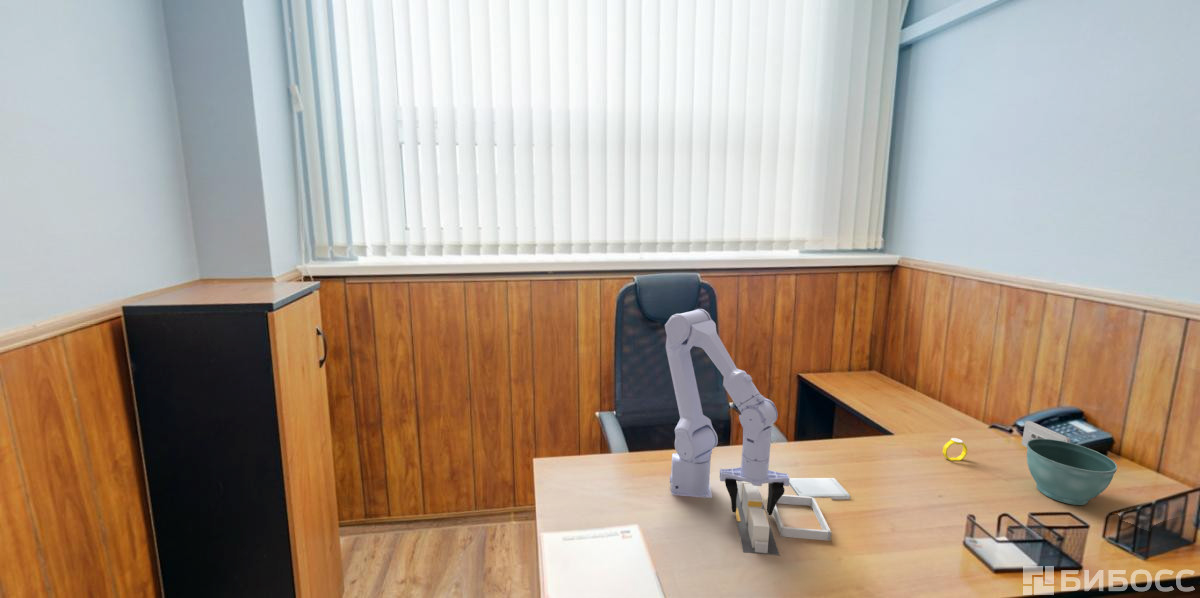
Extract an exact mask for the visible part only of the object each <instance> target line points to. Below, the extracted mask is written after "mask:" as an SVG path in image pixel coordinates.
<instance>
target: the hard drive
mask: <svg viewBox="0 0 1200 598" xmlns="http://www.w3.org/2000/svg"><path fill="white" fill-rule="evenodd" d="M789 478H790V479H789V486H790V488H791V489H792V490H793V491H794V493H795V494H796V496H809V497H814V498H830V499H831V500H850V499H851V495H850V494H849V492H848V491H847V490H846V489H845V488H844V487H843V486H842V485H841V484H840V483H839V481H838V480H837V479H836V478H835V477H800V478H799V477H796V478H795V477H794V478H793V477H789Z"/></svg>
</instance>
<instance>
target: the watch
mask: <svg viewBox="0 0 1200 598" xmlns="http://www.w3.org/2000/svg"><path fill="white" fill-rule="evenodd" d="M954 444H955V445H960V446H962V451H961V454H960V455H958V456H957V457H948V453H947V452H948V450H949V448H950V447H951V446H952V445H954ZM967 454H968V446H967V445H966V444H965V443H964V442H963V440H962V439H960V438H956V437H952V438H950V440H948V441H947V442H946V443H945V444H944V445H943V447H942V455H943V456H944V458H945V459H947V460H948V461H949V462H951V461H952V462H953V461H955V462H961V461H963V459H965V458H966V456H967Z"/></svg>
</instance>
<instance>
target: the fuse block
mask: <svg viewBox="0 0 1200 598" xmlns="http://www.w3.org/2000/svg"><path fill="white" fill-rule="evenodd" d="M737 486H738V484H737ZM742 503H743V502H741V501H740V497H739V493H738V492H737V499H736V513H734V517H735V520H736V525H737V529H738V534H739V537H740V538H739V539H740V543H741V547H742V552H743V553H748V554H757V555H759V554H760V555H768V556H769V555H770V556H781V555H780V552H779V548H778V546H777V542H776V540H775V537H774V533H773V531H772V528H771V525H770V521H769V519H768V514H767V511H766V509H765V506H764V502H763V501H762V509H764V511H765V514H766V517H767V520H768V524H769V527H770V528H769V540H768V542H758V541H755V548H752V544H751V540H750V536H749V532H748V524H747V523H746V520H745V516H744V513H743V509H742Z"/></svg>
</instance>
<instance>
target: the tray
mask: <svg viewBox="0 0 1200 598" xmlns="http://www.w3.org/2000/svg"><path fill="white" fill-rule="evenodd" d="M777 504H783V505H784V504H785V505H797V506H809V507H811V509H812V510H813V513H814V515H815V517H816V519H817V522H818V523H819V525H820V528H821V529H818V528H804V527H803V528H802V527H793V526H792V527H791V526H784V523H783V521H782V518H781V516H780V513H779V510H778V507H777ZM772 516H773V518H774V521H775V525H776V527H777V530H778V532H779V536H780V537H781V538H784V537H785V538H791V539H792V538H794V539H804V540H805V539H806V540H818V541H827V542H828V541H829V542H830V541H832V538H831V537H832V531H831V529H830V527H829V525H828V522H827V520H826V519H825V517H824V515H823V513H822V511H821V509H820V506H819V504H818V503H817V500H816V497H809V496H798V495H797V494H796V495H794V494H793V495H791V494H783V495H782V496H781V497H780V499H779V500H778V502H777V503H776V505H775V507H774V510H773V512H772Z"/></svg>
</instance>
